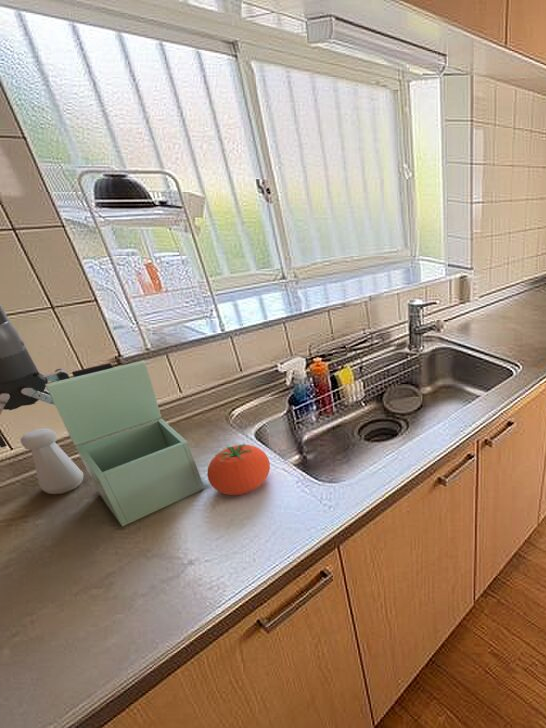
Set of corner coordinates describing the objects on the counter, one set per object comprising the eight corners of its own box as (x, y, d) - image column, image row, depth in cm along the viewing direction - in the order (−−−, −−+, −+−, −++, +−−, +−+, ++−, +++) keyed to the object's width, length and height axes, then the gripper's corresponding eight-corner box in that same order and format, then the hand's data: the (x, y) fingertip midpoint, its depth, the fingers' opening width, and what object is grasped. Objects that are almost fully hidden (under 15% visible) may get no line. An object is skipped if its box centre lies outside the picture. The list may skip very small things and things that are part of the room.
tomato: (285, 476, 87) (275, 436, 83) (249, 510, 78) (236, 467, 74) (241, 468, 89) (229, 428, 84) (201, 501, 80) (185, 459, 75)
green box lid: (145, 362, 75) (133, 348, 77) (46, 386, 66) (35, 370, 67) (161, 417, 83) (150, 403, 84) (75, 445, 73) (64, 429, 75)
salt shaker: (93, 477, 84) (66, 422, 78) (78, 496, 79) (47, 439, 73) (56, 482, 82) (25, 426, 76) (38, 502, 77) (3, 444, 71)
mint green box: (205, 491, 82) (187, 441, 77) (124, 530, 73) (97, 476, 67) (179, 465, 88) (161, 418, 83) (101, 498, 79) (75, 446, 74)
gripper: (46, 333, 75) (85, 411, 82) (-84, 358, 64) (-26, 444, 72) (57, 344, 71) (96, 425, 78) (-79, 372, 60) (-19, 462, 68)
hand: (38, 434), depth 75 cm, fingers open, 8 cm apart
